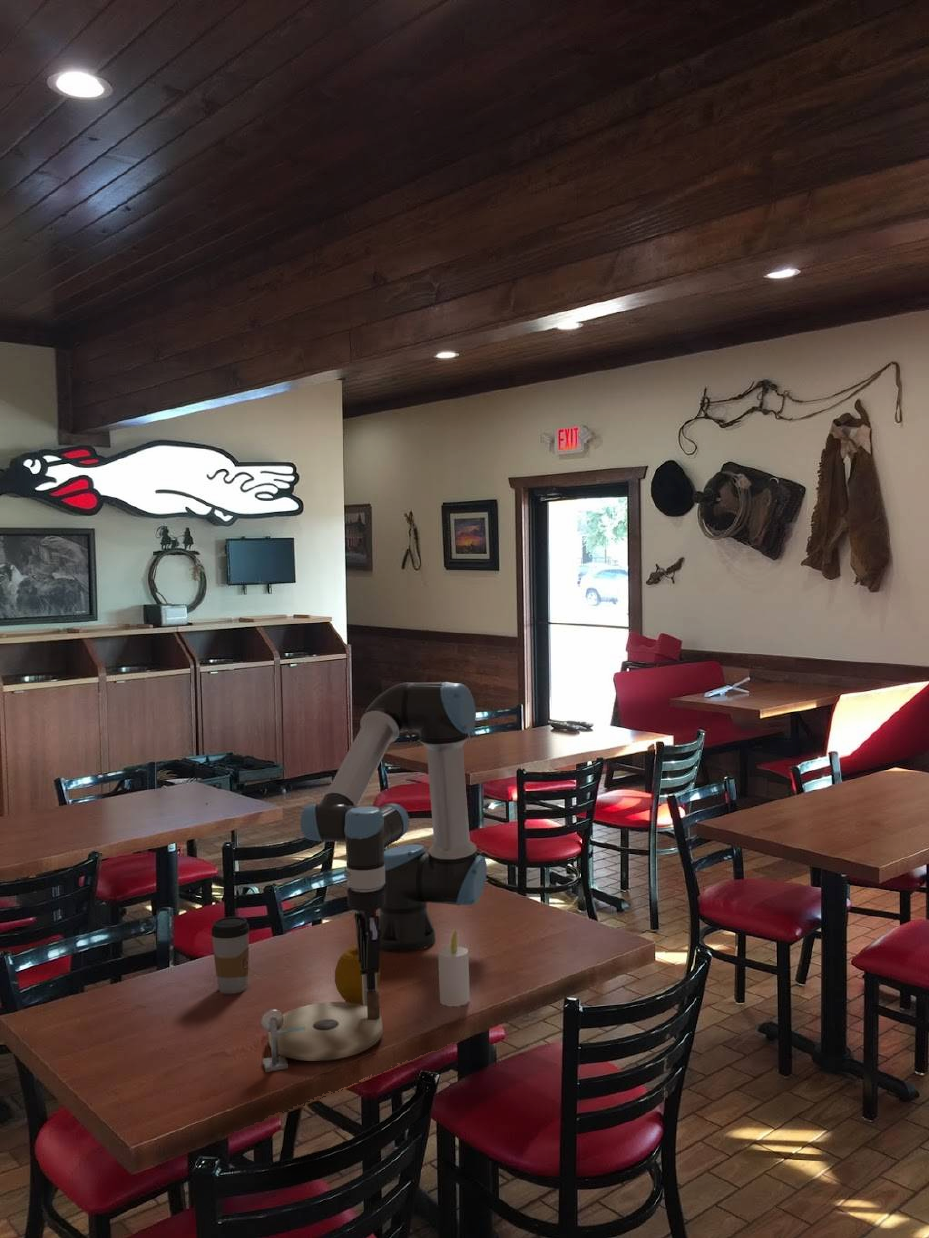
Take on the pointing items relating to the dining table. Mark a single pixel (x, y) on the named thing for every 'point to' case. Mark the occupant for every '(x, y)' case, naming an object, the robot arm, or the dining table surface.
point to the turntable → (330, 1029)
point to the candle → (454, 974)
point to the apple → (350, 977)
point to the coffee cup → (231, 953)
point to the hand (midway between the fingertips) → (370, 1003)
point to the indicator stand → (273, 1040)
